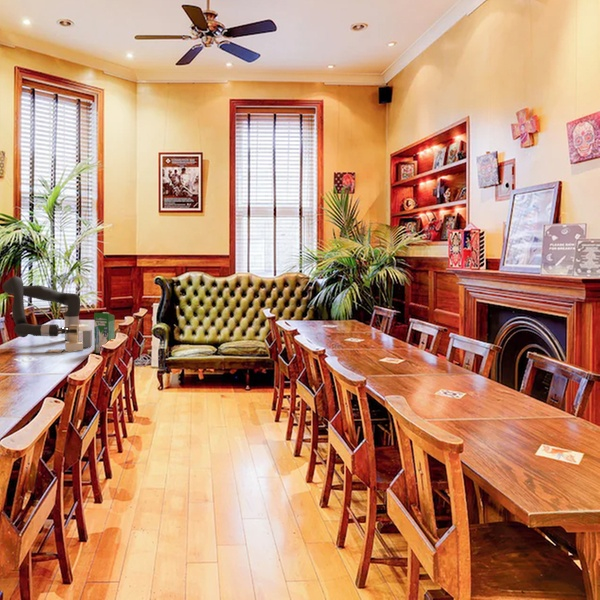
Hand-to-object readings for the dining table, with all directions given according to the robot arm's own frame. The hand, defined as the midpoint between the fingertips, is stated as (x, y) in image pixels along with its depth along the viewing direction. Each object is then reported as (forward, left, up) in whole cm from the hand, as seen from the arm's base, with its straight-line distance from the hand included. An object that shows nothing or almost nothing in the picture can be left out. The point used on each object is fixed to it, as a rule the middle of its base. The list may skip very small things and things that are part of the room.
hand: (77, 330), depth 349 cm
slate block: (-11, +4, -12) cm, 17 cm away
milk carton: (+9, +18, -13) cm, 24 cm away
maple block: (0, -2, -8) cm, 8 cm away
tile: (+6, -12, -12) cm, 19 cm away
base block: (0, -2, -13) cm, 13 cm away
